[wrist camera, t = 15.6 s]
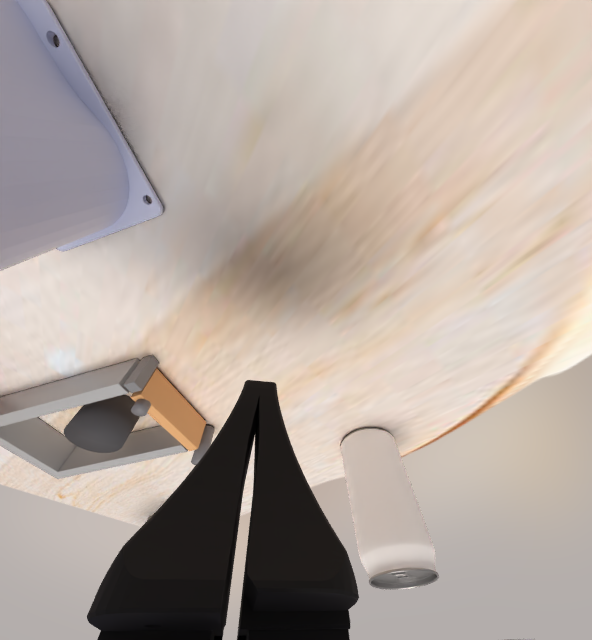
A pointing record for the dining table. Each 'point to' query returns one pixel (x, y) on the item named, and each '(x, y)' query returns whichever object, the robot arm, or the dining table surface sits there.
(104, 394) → the grey frame
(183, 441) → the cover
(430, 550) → the can
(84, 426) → the dark grey cylinder
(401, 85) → the dining table surface
